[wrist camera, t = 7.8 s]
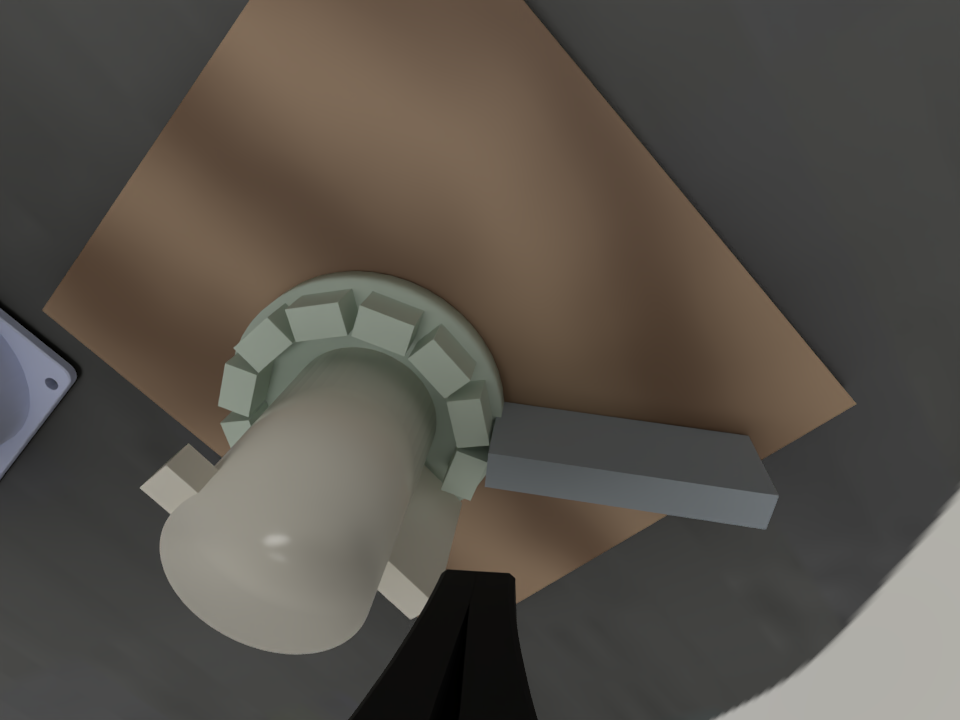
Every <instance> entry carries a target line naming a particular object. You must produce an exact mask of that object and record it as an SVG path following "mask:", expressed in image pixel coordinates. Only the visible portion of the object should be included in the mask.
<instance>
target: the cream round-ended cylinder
mask: <svg viewBox="0 0 960 720" xmlns="http://www.w3.org/2000/svg"><path fill="white" fill-rule="evenodd" d="M435 432H436V412H435V407H434V404H433V401H432V398H431V396H430V394H429V392H428V390H427V388H426V387H425V385H424V384H423V382H422V381H421V380H420V379H419V377H418V376H417V375H416V374H415V373H414V372H413V371H412V370H411V369H410V368H408V367H407V366H406V365H404V364H403V363H402V362H400V361H398V360H397V359H395V358H393V357H391V356H389V355H387V354H385V353H382V352H379V351H376V350H372V349H367V348H360V347H345V348H339V349H334V350H331V351H328V352H325V353H323V354H321V355H319V356H318V357H316V358H315V359H313V360H312V361H311V362H310V363H309V364H308V365H307V366H306V367H305V368H304V369H303V370H302V371H301V372H300V373H299V374H298V375H297V376H296V378H295V379H294V380H293V381H292V382H291V383H290V384H289V385H288V386H287V387H286V388H285V390H284V391H283V392H282V393H281V394H280V395H279V396H278V397H277V398H276V399H275V400H274V402H273V403H272V404H271V405H270V406H269V407H268V408H267V409H266V410H265V411H264V413H263V414H262V415H261V416H260V417H259V418H258V419H257V420H256V421H255V422H254V423H253V425H252V426H251V427H250V428H249V429H248V430H247V431H246V432H245V433H244V434H243V436H242V437H241V438H240V439H239V440H238V441H237V442H236V443H235V444H234V445H233V446H232V448H231V449H230V450H229V451H228V452H227V453H226V454H225V455H224V456H223V457H222V458H221V460H220V461H219V462H218V463H217V464H216V465H215V466H213V465H212V464H211V463H210V462H209V461H208V460H207V459H206V458H204V457H203V456H202V455H201V454H200V453H199V452H198V451H197V450H196V449H194V448H193V447H192V446H191V445H190V444H189V443H188V444H187V445H186V446H185V447H184V448H183V449H181V450H180V451H179V452H178V453H177V454H176V455H174V456H173V457H172V458H171V459H170V460H169V461H168V462H166V463H165V464H164V465H163V466H162V467H161V468H160V469H159V470H158V471H157V472H156V473H155V474H153V475H152V476H151V477H150V478H149V479H148V480H147V481H146V482H145V483H144V484H143V485H142V486H141V487H140V489H141V490H143V491H144V492H145V493H146V494H147V495H149V496H150V497H151V498H152V499H153V500H154V501H156V502H157V503H158V504H159V505H160V506H162V507H163V508H164V509H165V510H166V511H167V512H169V513H170V514H171V515H170V516H169V518H168V519H167V521H166V522H165V525H164V527H163V529H162V533H161V538H160V556H161V562H162V565H163V569H164V572H165V574H166V576H167V578H168V581H169V583H170V584H171V586H172V588H173V589H174V591H175V592H176V594H177V595H178V596H179V598H180V599H181V600H182V601H183V603H184V604H185V605H186V606H187V607H188V608H189V609H190V610H191V611H192V612H193V613H194V614H196V615H197V616H198V617H199V618H200V619H201V620H203V621H204V622H205V623H207V624H208V625H209V626H211V627H212V628H214V629H215V630H217V631H219V632H220V633H222V634H224V635H226V636H228V637H230V638H232V639H234V640H236V641H238V642H241V643H243V644H245V645H248V646H251V647H254V648H258V649H261V650H265V651H270V652H275V653H283V654H311V653H317V652H322V651H325V650H329V649H332V648H334V647H336V646H339V645H341V644H343V643H344V642H346V641H347V640H349V639H350V638H351V637H352V636H353V635H355V634H356V633H357V632H358V630H359V629H360V628H361V626H362V625H363V624H364V622H365V620H366V618H367V616H368V613H369V610H370V608H371V605H372V602H373V600H374V597H375V594H376V592H377V590H378V591H379V592H381V593H382V594H383V595H384V596H385V597H386V598H387V599H388V600H389V601H390V602H392V603H393V604H394V605H395V606H396V607H397V608H398V609H399V610H400V611H402V612H403V613H404V614H405V615H406V616H407V617H408V618H409V619H410V620H411V619H412V618H414V617H416V616H418V615H420V613H421V611H422V610H423V608H424V606H425V604H426V603H427V601H428V599H429V597H430V595H431V593H432V591H433V590H434V588H435V586H436V584H437V582H438V580H439V577H440V575H441V573H443V572H444V571H445V570H446V566H447V562H448V558H449V554H450V550H451V546H452V542H453V538H454V534H455V530H456V526H457V522H458V518H459V514H460V510H461V506H462V502H461V501H460V500H459V499H458V498H457V497H456V496H455V495H454V494H451V493H448V492H446V491H443V490H441V487H442V484H443V483H442V482H441V481H440V480H439V479H438V478H437V477H436V476H435V475H434V474H433V473H432V472H431V471H430V470H429V469H428V468H427V467H426V466H425V465H424V463H425V461H426V458H427V455H428V453H429V450H430V447H431V445H432V442H433V439H434V436H435Z"/></svg>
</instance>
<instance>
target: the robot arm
mask: <svg viewBox="0 0 960 720" xmlns="http://www.w3.org/2000/svg"><path fill="white" fill-rule="evenodd" d="M76 378H77V375H76V371H75V369H74V368H73V367H72V366H71V365H70V364H69V363H68V362H67V361H65V360H64V359H63V358H62V357H60V356H59V355H58V354H57V353H55V352H54V351H53V350H52V349H51V348H49V347H48V346H47V345H46V344H44V343H43V342H42V341H41V340H39V339H38V338H37V337H36V336H34V335H33V334H32V333H31V332H29V331H28V330H27V329H26V328H24V327H23V326H22V325H21V324H19V323H18V322H17V321H16V320H14V319H13V318H12V317H11V316H9V315H8V314H7V313H6V312H4V311H3V310H2V309H1V308H0V479H1V478H2V477H3V475H4V474H5V473H6V471H7V470H8V469H9V468H10V466H11V465H12V464H13V462H14V461H15V460H16V458H17V457H18V456H19V454H20V453H21V452H22V450H23V449H24V448H25V447H26V445H27V444H28V443H29V441H30V440H31V439H32V437H33V436H34V435H35V433H36V432H37V431H38V429H39V428H40V427H41V426H42V424H43V423H44V422H45V420H46V419H47V418H48V416H49V415H50V414H51V412H52V411H53V410H54V408H55V407H56V406H57V405H58V403H59V402H60V401H61V399H62V398H63V397H64V395H65V394H66V393H67V391H68V390H69V389H70V387H71V386H72V385H73V384H74V382H75V381H76ZM54 380H55V381H56V382H57V383H56V382H55V381H54ZM349 720H538V719H537V716H536V712H535V709H534V705H533V701H532V698H531V694H530V690H529V686H528V681H527V677H526V672H525V668H524V663H523V658H522V654H521V649H520V643H519V637H518V630H517V619H516V583H515V577H513V576H512V575H511V574H510V573H501V572H484V571H468V570H451V569H446V570H445V571H444V572H443V573H441V575H440V577H439V580H438V582H437V584H436V586H435V588H434V590H433V591H432V593H431V595H430V597H429V599H428V601H427V603H426V604H425V606H424V608H423V610H422V611H421V613H420V615H419V617H418V618H417V620H416V622H415V623H414V625H413V627H412V628H411V630H410V632H409V633H408V635H407V636H406V638H405V639H404V641H403V643H402V644H401V646H400V647H399V649H398V650H397V652H396V653H395V655H394V657H393V658H392V660H391V661H390V663H389V664H388V666H387V667H386V669H385V670H384V672H383V673H382V674H381V676H380V677H379V679H378V680H377V681H376V683H375V684H374V686H373V687H372V688H371V690H370V691H369V693H368V694H367V695H366V697H365V698H364V699H363V701H362V702H361V704H360V705H359V706H358V708H357V709H356V710H355V712H354V713H353V714H352V716H351V717H350V718H349Z"/></svg>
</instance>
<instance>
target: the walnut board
mask: <svg viewBox="0 0 960 720" xmlns="http://www.w3.org/2000/svg"><path fill="white" fill-rule="evenodd" d="M346 271H365V272H375V273H381V274H386V275H391V276H395V277H398V278H401V279H404V280H407V281H410V282H412V283H414V284H417V285H419V286H421V287H423V288H425V289H427V290H429V291H431V292H432V293H434V294H436V295H437V296H439V297H440V298H442V299H444V300H445V301H446V302H447V303H449V304H450V305H451V306H453V307H454V308H455V309H456V310H458V311H459V312H460V313H461V314H462V315H463V316H464V317H465V318H466V319H467V320H468V321H469V322H470V323H471V324H472V326H473V327H474V328H475V330H476V331H477V332H478V333H479V335H480V336H481V337H482V339H483V340H484V342H485V344H486V345H487V347H488V349H489V351H490V352H491V354H492V356H493V359H494V361H495V364H496V366H497V368H498V371H499V375H500V379H501V383H502V387H503V396H504V402H509V403H516V404H523V405H530V406H538V407H545V408H552V409H559V410H566V411H574V412H581V413H588V414H595V415H602V416H610V417H617V418H624V419H631V420H638V421H645V422H653V423H660V424H667V425H674V426H681V427H689V428H696V429H703V430H710V431H717V432H725V433H732V434H739V435H746V436H749V437H750V439H751V441H752V443H753V445H754V447H755V449H756V451H757V453H758V455H759V457H760V459H761V460H762V459H764V458H765V457H767V456H769V455H771V454H772V453H774V452H776V451H777V450H779V449H781V448H782V447H784V446H786V445H788V444H789V443H791V442H793V441H794V440H796V439H798V438H800V437H801V436H803V435H805V434H806V433H808V432H810V431H811V430H813V429H815V428H817V427H818V426H820V425H822V424H823V423H825V422H827V421H828V420H830V419H832V418H834V417H835V416H837V415H839V414H840V413H842V412H844V411H846V410H847V409H849V408H851V407H852V406H854V405H856V403H855V402H854V400H853V399H852V398H851V397H850V395H849V394H848V393H847V392H846V391H845V389H844V388H843V387H842V386H841V385H840V383H839V382H838V381H837V380H836V379H835V377H834V376H833V375H832V374H831V372H830V371H829V370H828V369H827V368H826V366H825V365H824V364H823V363H822V362H821V360H820V359H819V358H818V357H817V355H816V354H815V353H814V352H813V351H812V349H811V348H810V347H809V346H808V345H807V343H806V342H805V341H804V340H803V339H802V337H801V336H800V335H799V334H798V332H797V331H796V330H795V329H794V328H793V326H792V325H791V324H790V323H789V322H788V320H787V319H786V318H785V317H784V316H783V314H782V313H781V312H780V311H779V309H778V308H777V307H776V306H775V305H774V303H773V302H772V301H771V300H770V299H769V297H768V296H767V295H766V294H765V292H764V291H763V290H762V289H761V288H760V286H759V285H758V284H757V283H756V282H755V280H754V279H753V278H752V277H751V276H750V274H749V273H748V272H747V271H746V269H745V268H744V267H743V266H742V265H741V263H740V262H739V261H738V260H737V259H736V257H735V256H734V255H733V254H732V252H731V251H730V250H729V249H728V248H727V246H726V245H725V244H724V243H723V242H722V240H721V239H720V238H719V237H718V236H717V234H716V233H715V232H714V231H713V229H712V228H711V227H710V226H709V225H708V223H707V222H706V221H705V220H704V219H703V217H702V216H701V215H700V214H699V213H698V211H697V210H696V209H695V208H694V206H693V205H692V204H691V203H690V202H689V200H688V199H687V198H686V197H685V196H684V194H683V193H682V192H681V191H680V189H679V188H678V187H677V186H676V185H675V183H674V182H673V181H672V180H671V179H670V177H669V176H668V175H667V174H666V173H665V171H664V170H663V169H662V168H661V166H660V165H659V164H658V163H657V162H656V160H655V159H654V158H653V157H652V156H651V154H650V153H649V152H648V151H647V150H646V148H645V147H644V146H643V145H642V143H641V142H640V141H639V140H638V139H637V137H636V136H635V135H634V134H633V133H632V131H631V130H630V129H629V128H628V126H627V125H626V124H625V123H624V122H623V120H622V119H621V118H620V117H619V116H618V114H617V113H616V112H615V111H614V110H613V108H612V107H611V106H610V105H609V103H608V102H607V101H606V100H605V99H604V97H603V96H602V95H601V94H600V93H599V91H598V90H597V89H596V88H595V86H594V85H593V84H592V83H591V82H590V80H589V79H588V78H587V77H586V76H585V74H584V73H583V72H582V71H581V70H580V68H579V67H578V66H577V65H576V63H575V62H574V61H573V60H572V59H571V57H570V56H569V55H568V54H567V53H566V51H565V50H564V49H563V48H562V47H561V45H560V44H559V43H558V42H557V40H556V39H555V38H554V37H553V36H552V34H551V33H550V32H549V31H548V30H547V28H546V27H545V26H544V25H543V23H542V22H541V21H540V20H539V19H538V17H537V16H536V15H535V14H534V13H533V11H532V10H531V9H530V8H529V7H528V5H527V4H526V3H525V2H524V0H249V2H248V3H247V5H246V6H245V8H244V9H243V11H242V12H241V14H240V15H239V17H238V18H237V20H236V21H235V23H234V24H233V26H232V27H231V29H230V30H229V32H228V33H227V35H226V36H225V38H224V39H223V41H222V42H221V44H220V45H219V47H218V48H217V50H216V51H215V53H214V54H213V56H212V57H211V59H210V60H209V62H208V63H207V65H206V66H205V68H204V69H203V71H202V72H201V74H200V75H199V77H198V78H197V80H196V81H195V83H194V84H193V86H192V87H191V89H190V90H189V92H188V93H187V95H186V96H185V98H184V99H183V101H182V102H181V104H180V105H179V106H178V108H177V109H176V111H175V112H174V114H173V115H172V117H171V118H170V120H169V121H168V123H167V124H166V126H165V127H164V129H163V130H162V132H161V133H160V135H159V136H158V138H157V139H156V141H155V142H154V144H153V145H152V147H151V148H150V150H149V151H148V153H147V154H146V156H145V157H144V159H143V160H142V162H141V163H140V165H139V166H138V168H137V169H136V171H135V172H134V174H133V175H132V177H131V178H130V180H129V181H128V183H127V184H126V186H125V187H124V189H123V190H122V192H121V193H120V195H119V196H118V198H117V199H116V201H115V202H114V204H113V205H112V207H111V208H110V210H109V211H108V213H107V214H106V216H105V217H104V219H103V220H102V221H101V223H100V224H99V226H98V227H97V229H96V230H95V232H94V233H93V235H92V236H91V238H90V239H89V241H88V242H87V244H86V245H85V247H84V248H83V250H82V251H81V253H80V254H79V256H78V257H77V259H76V260H75V262H74V263H73V265H72V266H71V268H70V269H69V271H68V272H67V274H66V275H65V277H64V278H63V280H62V281H61V283H60V284H59V286H58V287H57V289H56V290H55V292H54V293H53V295H52V296H51V298H50V299H49V301H48V302H47V304H46V305H45V307H44V308H43V310H42V311H43V312H45V313H46V314H47V315H48V316H50V317H51V318H52V319H53V320H54V321H56V322H57V323H58V324H59V325H61V326H62V327H63V328H64V329H66V330H67V331H68V332H69V333H70V334H72V335H73V336H74V337H75V338H77V339H78V340H79V341H80V342H81V343H83V344H84V345H85V346H86V347H88V348H89V349H90V350H91V351H92V352H94V353H95V354H96V355H97V356H99V357H100V358H101V359H102V360H103V361H105V362H106V363H107V364H108V365H110V366H111V367H112V368H113V369H114V370H116V371H117V372H118V373H119V374H121V375H122V376H123V377H124V378H125V379H127V380H128V381H129V382H130V383H132V384H133V385H134V386H135V387H137V388H138V389H139V390H140V391H141V392H143V393H144V394H145V395H146V396H148V397H149V398H150V399H151V400H152V401H154V402H155V403H156V404H157V405H159V406H160V407H161V408H162V409H163V410H165V411H166V412H167V413H168V414H170V415H171V416H172V417H173V418H174V419H176V420H177V421H178V422H179V423H181V424H182V425H183V426H184V427H185V428H187V429H188V430H189V431H190V432H192V433H193V434H194V435H195V436H196V437H198V438H199V439H200V440H201V441H203V442H204V443H205V444H206V445H208V446H209V447H210V448H211V449H212V450H214V451H215V452H216V453H217V454H219V455H220V456H221V457H223V456H224V455H225V454H226V453H227V452H228V451H229V450H230V449H231V448H230V445H229V443H228V441H227V438H226V436H225V433H224V431H223V429H222V426H221V424H220V423H221V422H222V421H223V420H224V419H225V418H226V417H227V416H228V415H229V414H230V413H231V412H232V411H230V410H228V409H225V408H222V407H220V406H218V402H219V397H220V391H221V385H222V379H223V373H224V367H225V363H226V362H227V361H228V360H230V359H231V358H232V357H233V356H235V352H236V350H235V349H234V347H235V346H236V345H237V344H238V343H239V342H240V340H241V337H242V335H243V334H244V332H245V331H246V329H247V327H248V326H249V324H250V323H251V322H252V321H253V319H254V318H255V317H256V316H257V315H258V314H259V313H260V312H261V311H262V310H263V309H264V308H266V307H267V306H268V305H269V304H271V303H272V302H273V301H275V300H276V299H277V298H279V297H280V296H281V295H282V294H284V293H285V292H286V291H288V290H289V289H291V288H293V287H295V286H296V285H298V284H300V283H302V282H304V281H307V280H309V279H312V278H315V277H317V276H321V275H326V274H330V273H335V272H346ZM485 480H486V475H485V477H484V478H483V479H482V481H481V482H480V483H479V484H478V486H477V487H476V490H475V492H474V494H473V496H472V499H471V501H469V500H467V499H463V500H461V502H462V506H461V510H460V514H459V518H458V522H457V526H456V530H455V534H454V538H453V542H452V546H451V550H450V554H449V558H448V562H447V566H446V569H451V570H468V571H484V572H501V573H510V574H511V575H512V576H513V577H515V583H516V604H517V603H518V602H520V601H522V600H523V599H525V598H527V597H529V596H530V595H532V594H534V593H535V592H537V591H539V590H540V589H542V588H544V587H546V586H547V585H549V584H551V583H552V582H554V581H556V580H557V579H559V578H561V577H563V576H564V575H566V574H568V573H569V572H571V571H573V570H575V569H576V568H578V567H580V566H581V565H583V564H585V563H586V562H588V561H590V560H592V559H593V558H595V557H597V556H598V555H600V554H602V553H604V552H605V551H607V550H609V549H610V548H612V547H614V546H615V545H617V544H619V543H621V542H622V541H624V540H626V539H627V538H629V537H631V536H632V535H634V534H636V533H638V532H639V531H641V530H643V529H644V528H646V527H648V526H650V525H651V524H653V523H655V522H656V521H658V520H660V519H661V518H663V517H665V516H667V514H660V513H654V512H647V511H640V510H634V509H627V508H621V507H614V506H607V505H601V504H594V503H588V502H581V501H575V500H568V499H561V498H555V497H548V496H542V495H535V494H529V493H522V492H515V491H509V490H502V489H496V488H489V487H485ZM417 617H419V615H418V616H417Z"/></svg>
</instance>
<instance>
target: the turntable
mask: <svg viewBox="0 0 960 720" xmlns="http://www.w3.org/2000/svg"><path fill="white" fill-rule="evenodd" d="M345 347H360V348H367V349H372V350H376V351H379V352H382V353H385V354H387V355H389V356H391V357H393V358H395V359H397V360H398V361H400V362H402V363H403V364H404V365H406V366H407V367H408V368H410V369H411V370H412V371H413V372H414V373H415V374H416V375H417V376H418V377H419V379H420V380H421V381H422V382H423V384H424V385H425V387H426V388H427V390H428V392H429V394H430V396H431V398H432V401H433V404H434V407H435V412H436V432H435V436H434V439H433V442H432V445H431V447H430V450H429V453H428V455H427V458H426V461H425V463H424V465H425V466H426V467H427V468H428V469H429V470H430V471H431V472H432V473H433V474H434V475H435V476H436V477H437V478H438V479H439V480H440V481H441V482H442V483H443V484H442V487H441V490H443V491H446V492H448V493H451V494H454V495H455V496H456V497H457V498H458V499H459V500H460V501H461V500H463V499H467V500H469V501H471V499H472V496H473V494H474V492H475V490H476V487H477V486H478V484H479V483H480V482H481V481H482V479H483V478H484V477H485V475H486V480H485V487H489V488H496V489H502V490H509V491H515V492H522V493H529V494H535V495H542V496H548V497H555V498H561V499H568V500H575V501H581V502H588V503H594V504H601V505H607V506H614V507H621V508H627V509H634V510H640V511H647V512H654V513H660V514H667V515H673V516H680V517H686V518H693V519H700V520H706V521H713V522H719V523H726V524H732V525H739V526H746V527H752V528H759V529H765V530H766V528H767V525H768V523H769V520H770V518H771V515H772V512H773V510H774V507H775V505H776V502H777V500H778V497H779V495H778V493H777V491H776V489H775V487H774V485H773V483H772V481H771V479H770V477H769V475H768V473H767V471H766V469H765V467H764V465H763V463H762V461H761V459H760V457H759V455H758V453H757V451H756V449H755V447H754V445H753V443H752V441H751V439H750V437H749V436H746V435H739V434H732V433H725V432H717V431H710V430H703V429H696V428H689V427H681V426H674V425H667V424H660V423H653V422H645V421H638V420H631V419H624V418H617V417H610V416H602V415H595V414H588V413H581V412H574V411H566V410H559V409H552V408H545V407H538V406H530V405H523V404H516V403H509V402H504V396H503V387H502V383H501V379H500V375H499V371H498V368H497V366H496V364H495V361H494V359H493V356H492V354H491V352H490V351H489V349H488V347H487V345H486V344H485V342H484V340H483V339H482V337H481V336H480V335H479V333H478V332H477V331H476V330H475V328H474V327H473V326H472V324H471V323H470V322H469V321H468V320H467V319H466V318H465V317H464V316H463V315H462V314H461V313H460V312H459V311H458V310H456V309H455V308H454V307H453V306H451V305H450V304H449V303H447V302H446V301H445V300H444V299H442V298H440V297H439V296H437V295H436V294H434V293H432V292H431V291H429V290H427V289H425V288H423V287H421V286H419V285H417V284H414V283H412V282H410V281H407V280H404V279H401V278H398V277H395V276H391V275H386V274H381V273H375V272H365V271H346V272H335V273H330V274H326V275H321V276H317V277H315V278H312V279H309V280H307V281H304V282H302V283H300V284H298V285H296V286H295V287H293V288H291V289H289V290H288V291H286V292H285V293H284V294H282V295H281V296H280V297H279V298H277V299H276V300H275V301H273V302H272V303H271V304H269V305H268V306H267V307H266V308H264V309H263V310H262V311H261V312H260V313H259V314H258V315H257V316H256V317H255V318H254V319H253V321H252V322H251V323H250V324H249V326H248V327H247V329H246V331H245V332H244V334H243V335H242V337H241V340H240V342H239V343H238V344H237V345H236V346H235V347H234V349H235V350H236V352H235V356H233V357H232V358H231V359H230V360H228V361H227V362H226V363H225V367H224V373H223V379H222V385H221V391H220V397H219V402H218V406H220V407H222V408H225V409H228V410H230V411H232V412H231V413H230V414H229V415H228V416H227V417H226V418H225V419H224V420H223V421H222V422H221V423H220V424H221V426H222V429H223V431H224V433H225V436H226V438H227V441H228V443H229V445H230V448H232V446H233V445H234V444H235V443H236V442H237V441H238V440H239V439H240V438H241V437H242V436H243V434H244V433H245V432H246V431H247V430H248V429H249V428H250V427H251V426H252V425H253V423H254V422H255V421H256V420H257V419H258V418H259V417H260V416H261V415H262V414H263V413H264V411H265V410H266V409H267V408H268V407H269V406H270V405H271V404H272V403H273V402H274V400H275V399H276V398H277V397H278V396H279V395H280V394H281V393H282V392H283V391H284V390H285V388H286V387H287V386H288V385H289V384H290V383H291V382H292V381H293V380H294V379H295V378H296V376H297V375H298V374H299V373H300V372H301V371H302V370H303V369H304V368H305V367H306V366H307V365H308V364H309V363H310V362H311V361H312V360H313V359H315V358H316V357H318V356H319V355H321V354H323V353H325V352H328V351H331V350H334V349H339V348H345Z"/></svg>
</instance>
